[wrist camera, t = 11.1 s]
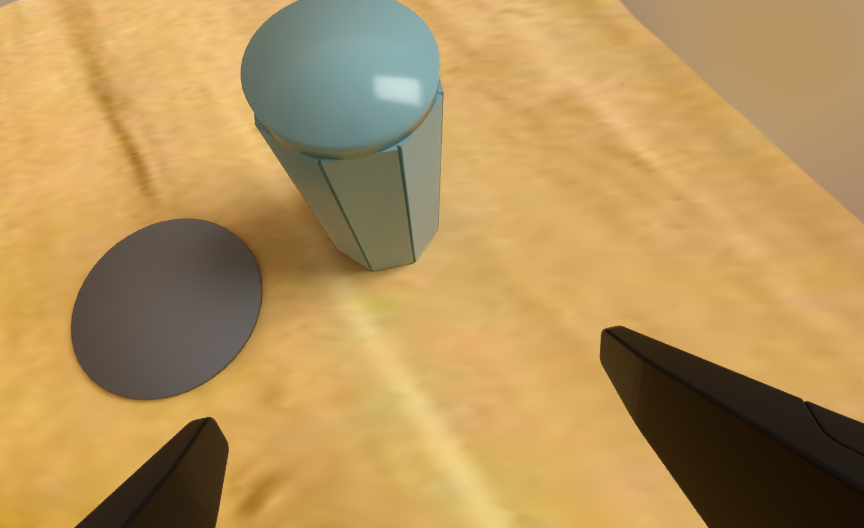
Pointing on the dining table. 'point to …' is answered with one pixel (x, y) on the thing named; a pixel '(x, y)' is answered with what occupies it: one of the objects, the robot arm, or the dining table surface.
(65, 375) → the dining table surface
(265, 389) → the dining table surface
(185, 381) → the disc
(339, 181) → the blue-grey tall faceted cylinder
